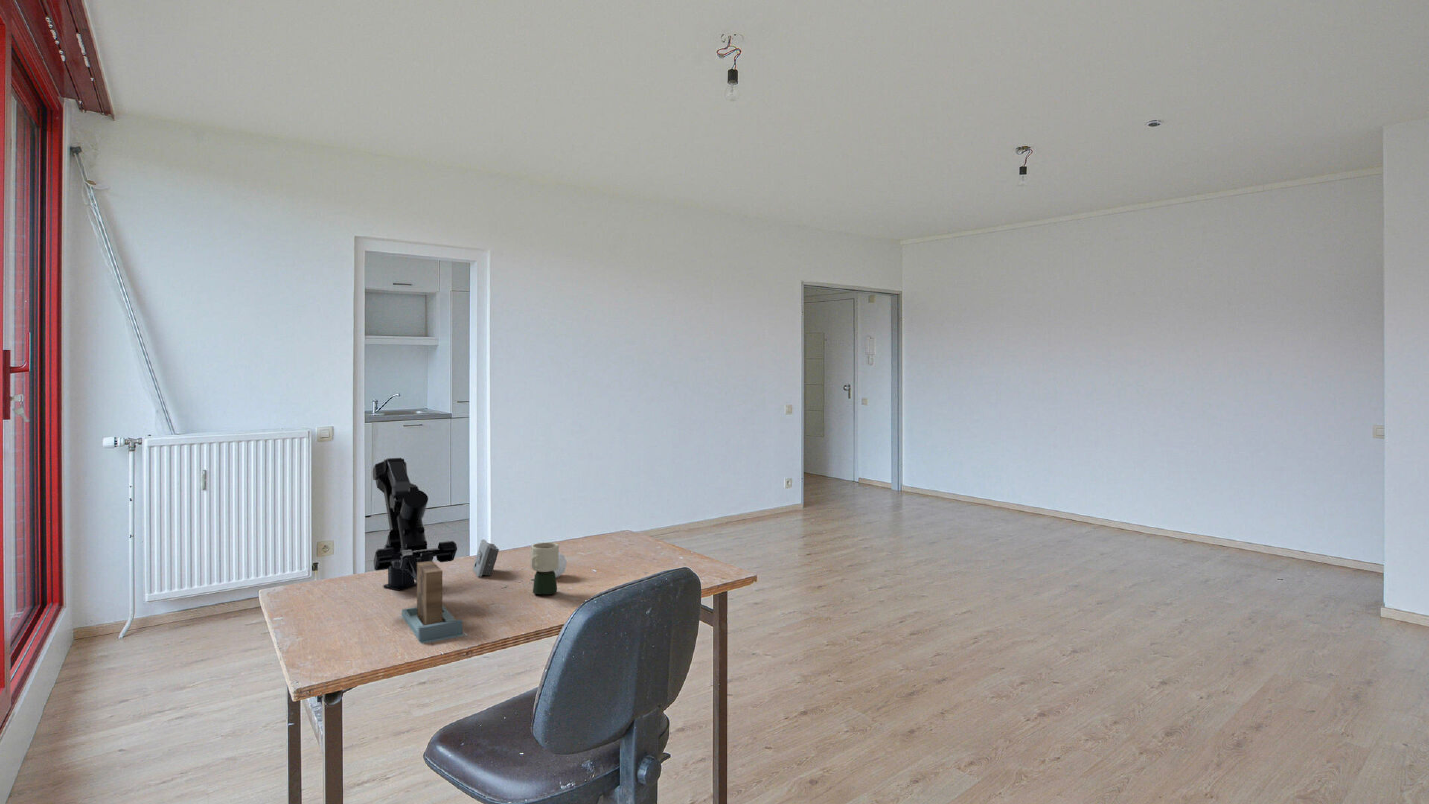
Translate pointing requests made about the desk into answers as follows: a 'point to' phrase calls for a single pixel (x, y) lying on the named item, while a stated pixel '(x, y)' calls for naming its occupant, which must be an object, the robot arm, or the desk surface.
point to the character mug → (545, 567)
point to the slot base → (433, 626)
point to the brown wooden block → (429, 593)
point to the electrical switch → (485, 559)
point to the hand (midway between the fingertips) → (421, 585)
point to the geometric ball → (560, 565)
